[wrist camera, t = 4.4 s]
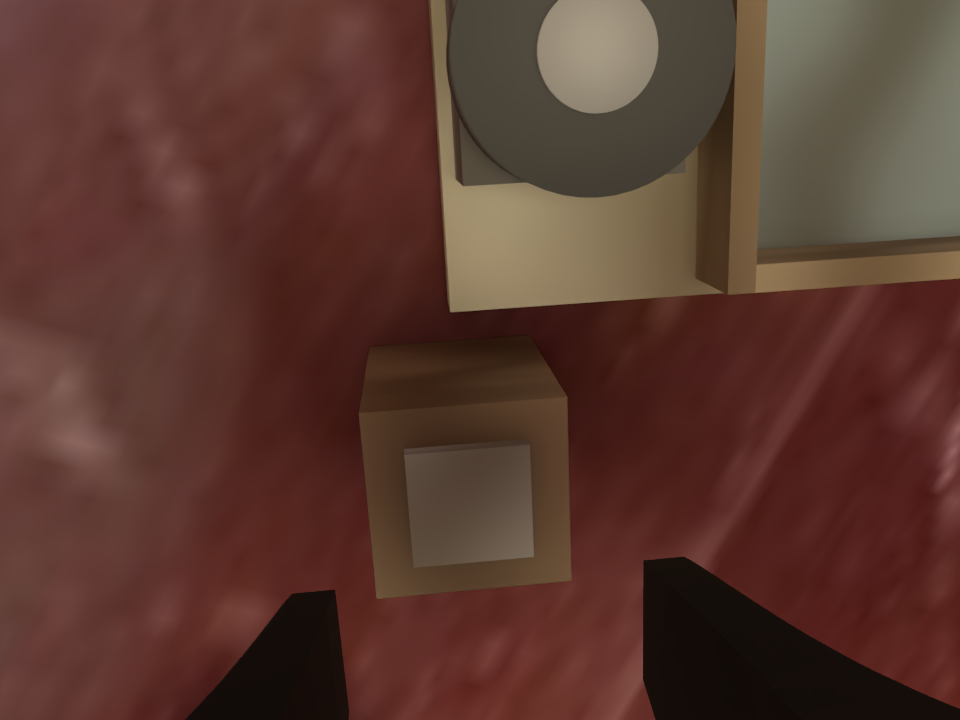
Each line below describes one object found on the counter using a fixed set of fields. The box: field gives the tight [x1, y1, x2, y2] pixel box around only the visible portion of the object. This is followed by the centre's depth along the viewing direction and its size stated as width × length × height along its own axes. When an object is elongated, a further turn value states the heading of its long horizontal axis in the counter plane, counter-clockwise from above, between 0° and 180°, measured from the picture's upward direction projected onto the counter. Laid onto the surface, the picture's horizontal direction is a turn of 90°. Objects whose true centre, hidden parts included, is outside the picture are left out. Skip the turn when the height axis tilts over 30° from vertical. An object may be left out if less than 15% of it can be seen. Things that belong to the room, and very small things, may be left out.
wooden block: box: [359, 335, 571, 599], centre depth 18 cm, size 4×4×5 cm
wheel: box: [446, 0, 736, 198], centre depth 15 cm, size 5×5×4 cm
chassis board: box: [428, 0, 960, 312], centre depth 18 cm, size 13×8×4 cm, turn 93°
